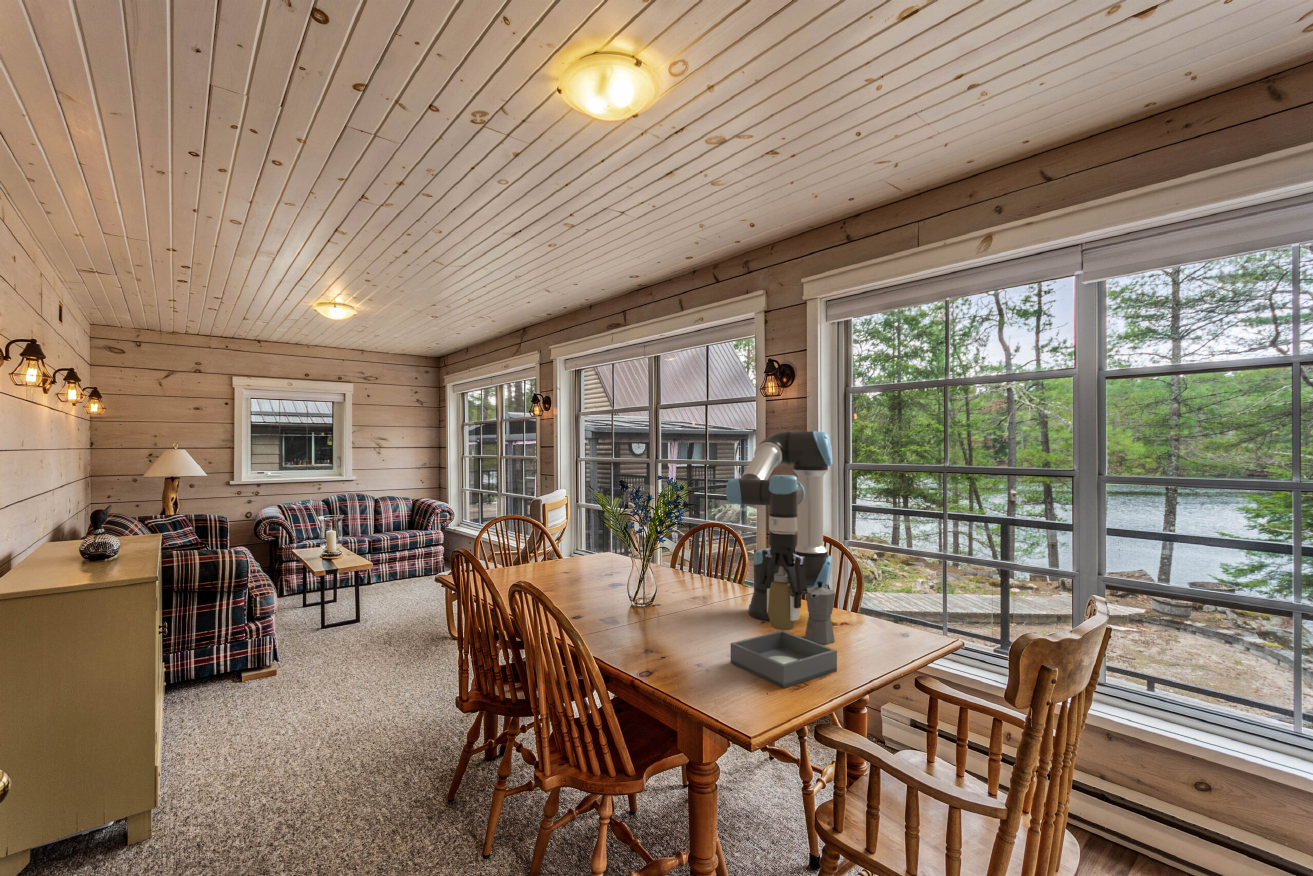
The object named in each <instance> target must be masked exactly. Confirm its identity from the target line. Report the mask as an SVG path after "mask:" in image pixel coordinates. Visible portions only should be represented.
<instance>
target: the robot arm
mask: <svg viewBox="0 0 1313 876" xmlns="http://www.w3.org/2000/svg"><path fill="white" fill-rule="evenodd" d="M833 463H834V462H833V449H832V444H831V438H830V436H829V434H828V433H827V432H824V431H815V430H813V431H779V432H777V433H774V434H772V435H770V436H768V437H766V438H764V439H763V440H762V441H761V442H759V444H758V445H757V446H756V447H755V450H754V454H753V458H752V459H751V461H750V463H749V464H748V465H747V467H746V469H745V470H744V472H743V473H742V475H741V477H740V478H737V477H736V478H731V479H729V480H728V481H727V483H726V487H725V489H726V490H725V494H726V500H727V502H728V503H730V504H734V505H740V506H741V505H742V506H743V505H748V506H749V505H750V506H767V507H768V506H769V507H768V508H769V513H768V517H769V519H768V526H769V527H768V529H769V531H770V532H769V533H768V544H769V546H770V547H767V548H762V549H757V551H755V552H754V555H753V556H754V557H753V594H752V596H751V601H750V604H749V605H748V615H749V614H750V615H749V616H751V617H752V616H753V617H752V618H756V619H759V620H764V621H770V619H769V616H768V605H769V595H770V586H771V583H772V582H773V581H774V574H776V573H778V571H779V566H782V567H783V568H784V570H785V571H786V573H787V577H788V580H789V583H790V587H791V590H792V593H793V594H792V595H791V596H790V620H791V621H794V620H796V621H798V620H800V608H802V596H803V595H806V594H807V593H808V591H807V588H812V587H818V583H817V582H818V581H821V582H823V583H822V586H825V585H826V584H827V585H829V583H830V580H831V574H832V568H833V556H832V555H829V553H828V552H829V551H828V549H827V548H826V547H825V546H824V475H826V473H827V472H828V471H829V467H831V466H832V465H833ZM780 465H783V466H785V465H787V466H790V465H791V466H793V469H792V470H793V472H794V473H795V474H796V475H797V476H796V475H793V474H792V475H791V474H773V475H771V474H772V472H773V471H774V469H775V468H777V467H778V466H780ZM796 532H797V533H796Z"/></svg>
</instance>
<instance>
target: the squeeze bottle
mask: <svg viewBox="0 0 1313 876" xmlns="http://www.w3.org/2000/svg"><path fill="white" fill-rule="evenodd" d="M792 594H793V593H792V590H791V587H790V583H789V580H788V577H787V573H786V571H785V570H784V568H783V567H782V566H779V571H778V573H776V574H774V581H773V582H772V583H771V586H770V595H769V605H768V616H769V619H770V620H769V623H770V625H771V627H772V628H773V629H775V630H778V631H791V630H793V629H794V628H795V625H796V622H797V620H794V621H791V620H790V596H791V595H792Z"/></svg>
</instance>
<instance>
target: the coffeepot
mask: <svg viewBox="0 0 1313 876" xmlns="http://www.w3.org/2000/svg"><path fill="white" fill-rule="evenodd" d="M817 583H818V587H812V588H807V591H808V593H807V594H805V600H806V606H807V613H808V617H807V623H806V629H805V635H804V637H805V638H804V639H807V640H810V641H812V642H815V643H818V644H820V645H830V644H829V643H831V644H834V642H835V633H834V629H833V622H832V614H833V610H834V603H835V596H836V593H835V590H834V589H831V587H830V585H829V584H828V585H827V584H826V585H825V586H822V583H823V582H821V581H818V582H817Z"/></svg>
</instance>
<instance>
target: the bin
mask: <svg viewBox="0 0 1313 876" xmlns="http://www.w3.org/2000/svg"><path fill="white" fill-rule="evenodd" d="M731 663H732V665H733V664H734V665H733V666H735V667H738V668H739V669H742V670H744V671H746V670H747V671H746V672H748V671H749V673H750V672H751V674H752V673H753V675H754V674H755V676H757V677H759V678H761V679H763V680H765V681H767V682H769V683H771V682H772V684H773V683H774V685H775V684H776V686H777V687H780V688H782V689H787V688H789V686H790V687H793V686H795V685H799V684H802V683H804V682H808V681H811V680H813V679H817V678H820V677H823V676H826V674H827V675H829V673H830V674H832V672H833V673H836V672H837V671H838V650H837V649H834V648H831V647H829V646H826V645H824V644H818V643H815V642H812V641H810V640H807V639H806V638H803V637H801V636H798V635H795V634H793V633H790V632H788V631H786V630H778V631H774V632H769V633H766V634H762V635H758V636H755V637H750V638H747V639H742V640H738V641H734V642H730V664H731ZM822 675H823V676H822ZM819 676H820V677H819ZM786 687H787V688H786Z"/></svg>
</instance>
